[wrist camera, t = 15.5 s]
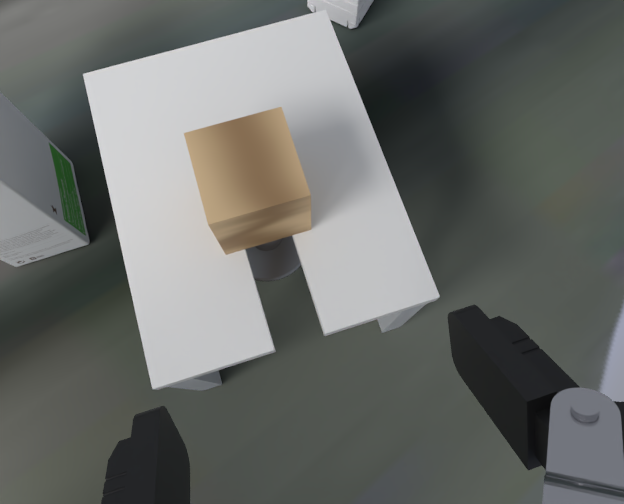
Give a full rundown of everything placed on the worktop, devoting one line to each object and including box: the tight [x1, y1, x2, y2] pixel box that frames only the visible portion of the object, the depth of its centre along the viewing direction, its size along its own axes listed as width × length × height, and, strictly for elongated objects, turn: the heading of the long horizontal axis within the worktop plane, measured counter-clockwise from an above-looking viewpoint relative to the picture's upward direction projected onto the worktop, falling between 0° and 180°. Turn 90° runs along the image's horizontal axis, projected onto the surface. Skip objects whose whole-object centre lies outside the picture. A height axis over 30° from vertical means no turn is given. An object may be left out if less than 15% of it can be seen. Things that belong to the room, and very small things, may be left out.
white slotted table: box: [83, 10, 440, 391], centre depth 35 cm, size 16×20×12 cm
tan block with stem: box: [184, 107, 311, 281], centre depth 30 cm, size 6×6×12 cm
